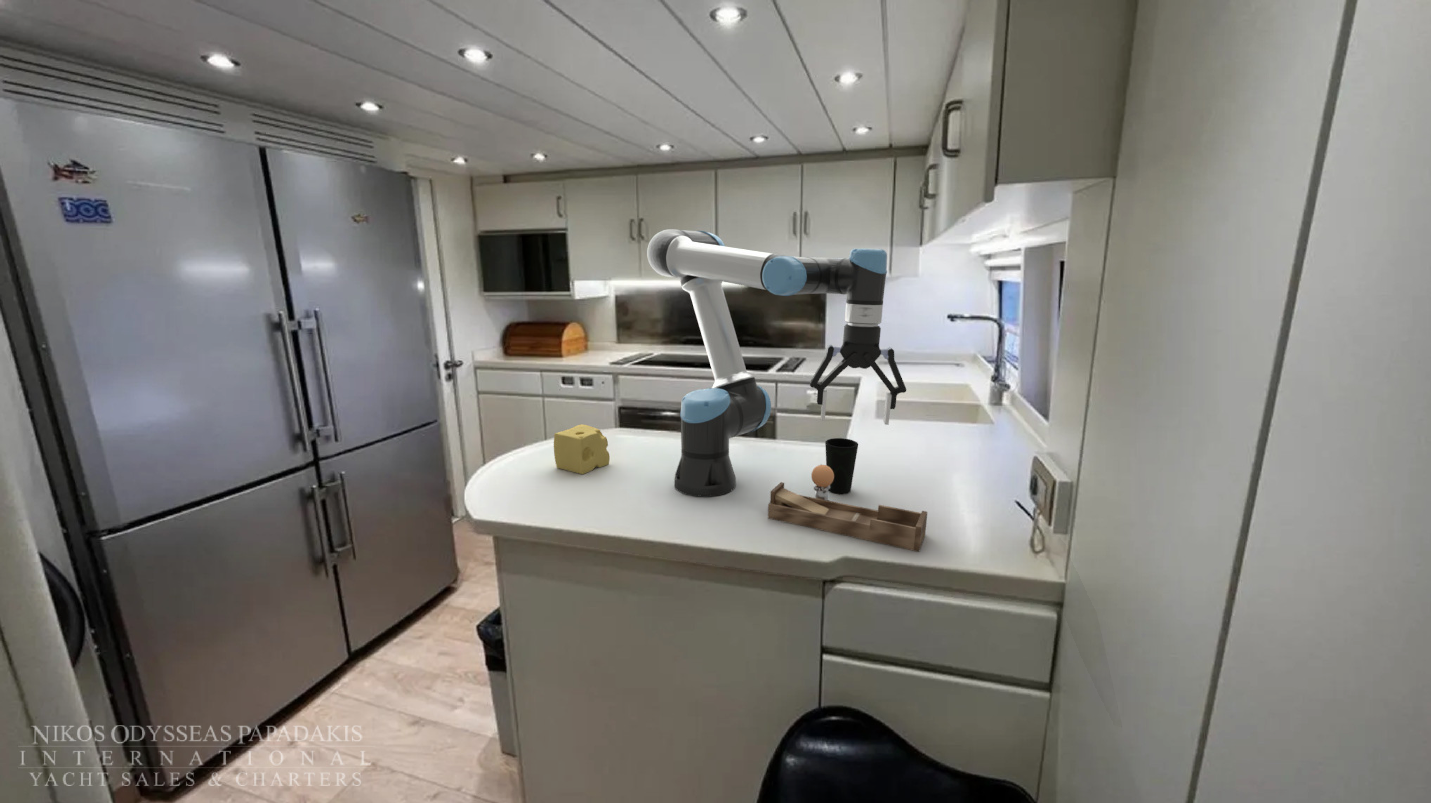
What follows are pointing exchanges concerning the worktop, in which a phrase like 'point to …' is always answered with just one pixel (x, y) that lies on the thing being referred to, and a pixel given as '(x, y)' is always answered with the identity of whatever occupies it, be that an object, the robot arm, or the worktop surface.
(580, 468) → the cheese
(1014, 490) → the worktop surface
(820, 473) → the ball
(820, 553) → the worktop surface
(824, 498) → the silver knobbed handle
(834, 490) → the cup
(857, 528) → the lane
